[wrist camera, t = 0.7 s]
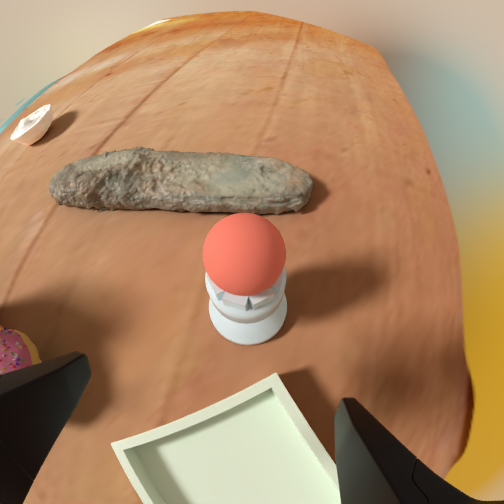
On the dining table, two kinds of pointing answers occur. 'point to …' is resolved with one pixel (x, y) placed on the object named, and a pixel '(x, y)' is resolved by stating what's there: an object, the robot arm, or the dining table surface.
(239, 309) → the chess rook
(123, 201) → the long grey stone
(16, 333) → the cupcake
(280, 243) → the ball
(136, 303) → the dining table surface
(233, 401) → the tray
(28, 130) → the white bowl
